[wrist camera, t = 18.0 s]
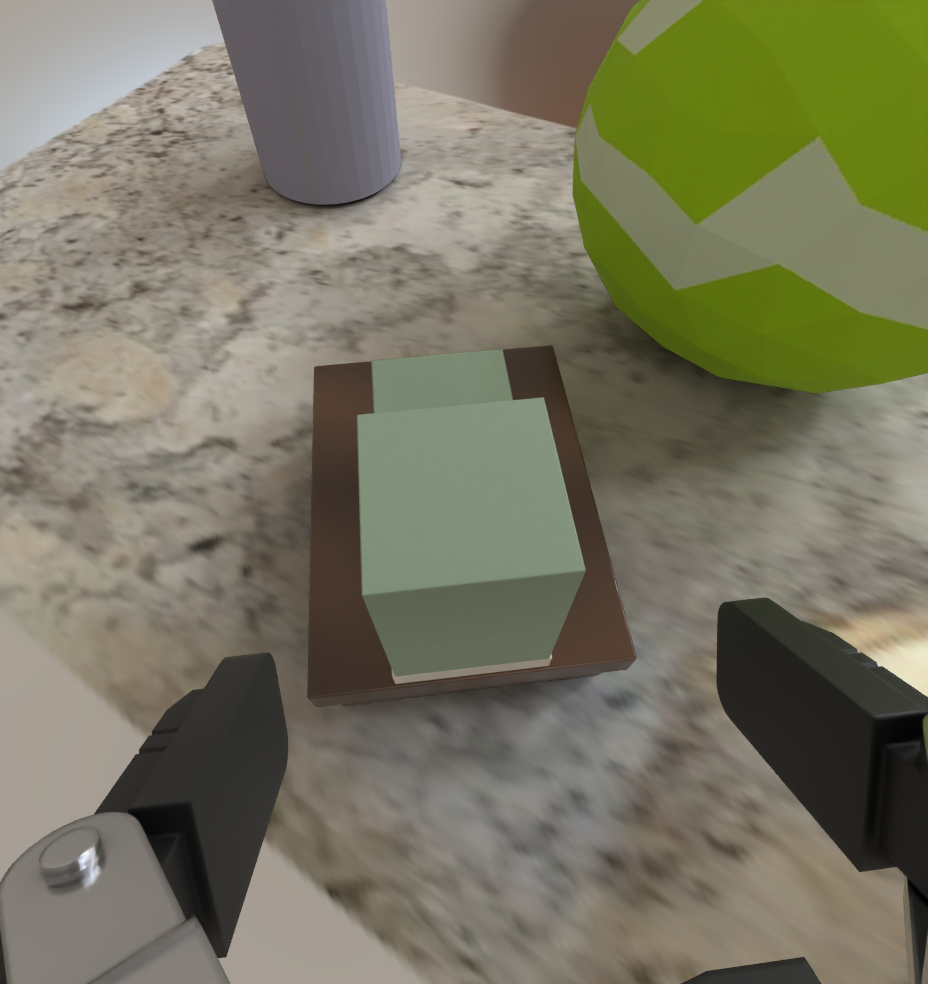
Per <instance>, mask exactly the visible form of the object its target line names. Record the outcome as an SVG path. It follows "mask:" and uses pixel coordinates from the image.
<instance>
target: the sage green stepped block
mask: <svg viewBox="0 0 928 984" xmlns="http://www.w3.org/2000/svg"><path fill="white" fill-rule="evenodd" d="M371 367H372V389H373V410H374V413H372V414H361V415H357V442H358V478H359V515H360V551H361V588H362V597H363V599H364V602H365V604H366V607H367V609H368V611H369V614H370V616H371V619H372V621H373V624H374V626H375V629H376V631H377V633H378V636H379V638H380V641H381V643H382V646H383V648H384V651H385V653H386V655H387V658H388V660H389V663H390V665H391V668H392V677H393V679H394V682H395V684H401V683H410V682H418V681H426V680H435V679H443V678H452V677H460V676H468V675H477V674H485V673H493V672H502V671H510V670H519V669H527V668H535V667H544V666H549V664H550V661H551V659H552V655H551V653H552V651H553V648H554V646H555V643H556V641H557V639H558V636H559V634H560V631H561V629H562V627H563V624H564V622H565V619H566V617H567V614H568V612H569V610H570V607H571V605H572V602H573V600H574V598H575V595H576V593H577V590H578V588H579V585H580V583H581V581H582V578H583V576H584V573H585V566H584V561H583V557H582V553H581V549H580V545H579V541H578V537H577V533H576V528H575V524H574V520H573V516H572V512H571V508H570V504H569V499H568V495H567V491H566V487H565V483H564V479H563V475H562V471H561V466H560V462H559V458H558V454H557V450H556V446H555V442H554V438H553V433H552V429H551V425H550V421H549V417H548V413H547V409H546V404H545V400H544V398H532V399H521V400H513V397H512V392H511V388H510V383H509V378H508V373H507V368H506V363H505V359H504V354H503V350H502V349H496V350H484V351H473V352H462V353H451V354H439V355H428V356H417V357H406V358H394V359H383V360H373V361H372V362H371Z"/></svg>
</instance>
